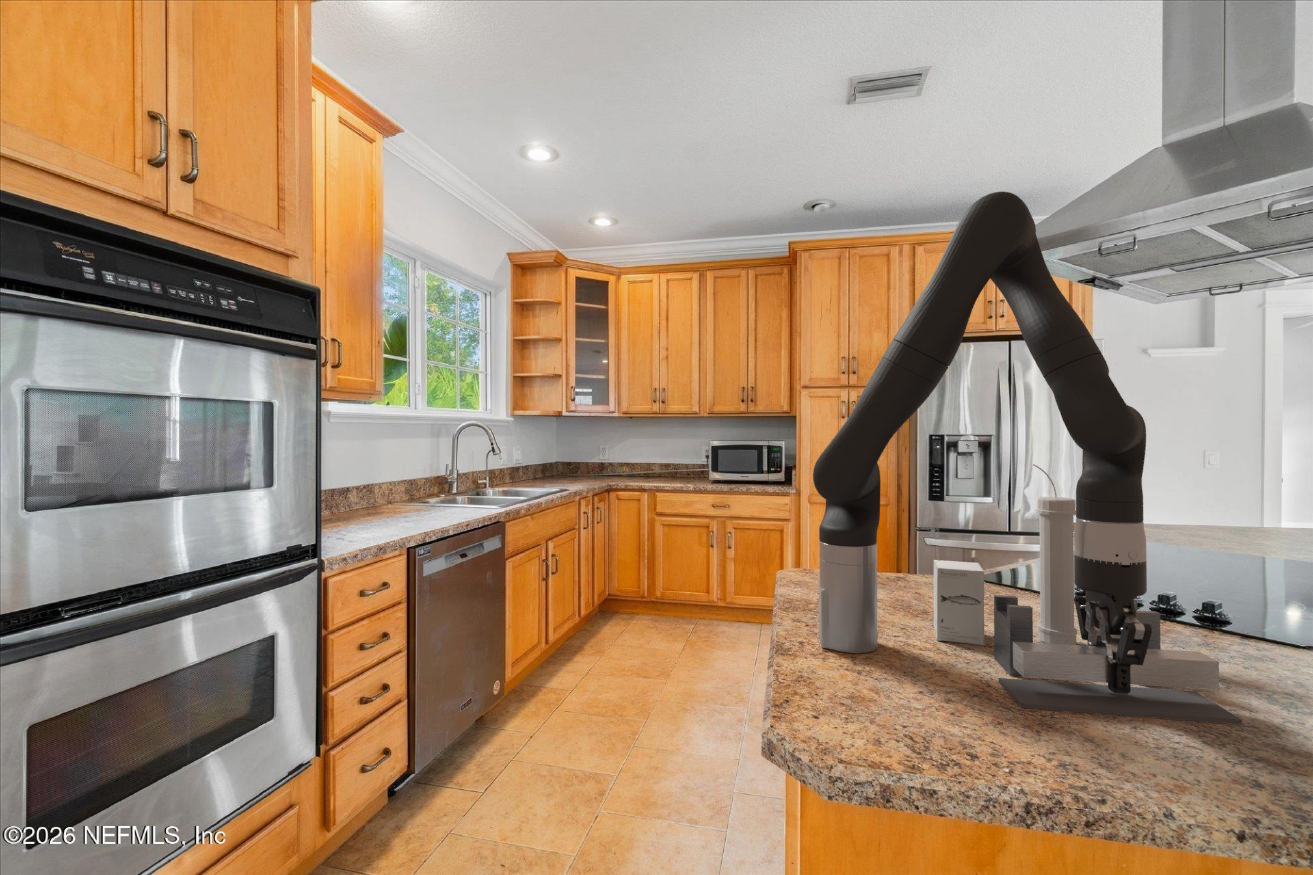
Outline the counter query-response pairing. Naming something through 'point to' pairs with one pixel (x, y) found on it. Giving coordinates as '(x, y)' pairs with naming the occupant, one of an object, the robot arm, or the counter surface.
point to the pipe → (1056, 570)
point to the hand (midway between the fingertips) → (1110, 684)
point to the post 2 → (1154, 622)
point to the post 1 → (1010, 629)
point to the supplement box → (959, 602)
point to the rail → (1093, 665)
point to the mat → (1117, 701)
